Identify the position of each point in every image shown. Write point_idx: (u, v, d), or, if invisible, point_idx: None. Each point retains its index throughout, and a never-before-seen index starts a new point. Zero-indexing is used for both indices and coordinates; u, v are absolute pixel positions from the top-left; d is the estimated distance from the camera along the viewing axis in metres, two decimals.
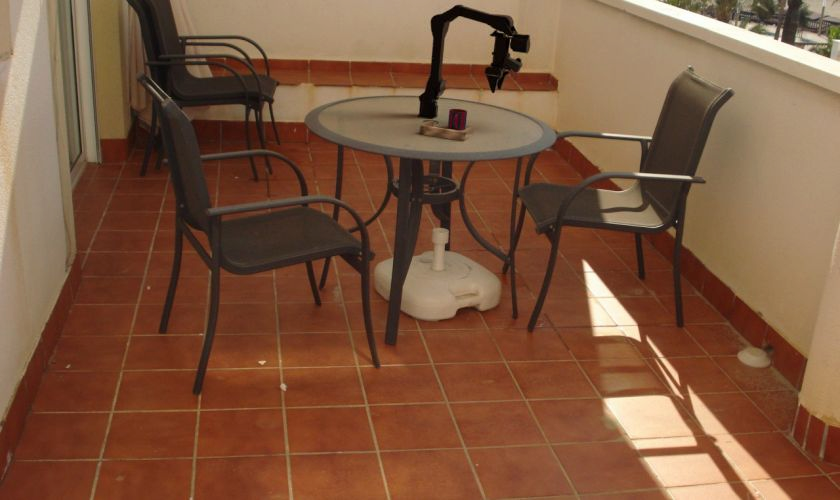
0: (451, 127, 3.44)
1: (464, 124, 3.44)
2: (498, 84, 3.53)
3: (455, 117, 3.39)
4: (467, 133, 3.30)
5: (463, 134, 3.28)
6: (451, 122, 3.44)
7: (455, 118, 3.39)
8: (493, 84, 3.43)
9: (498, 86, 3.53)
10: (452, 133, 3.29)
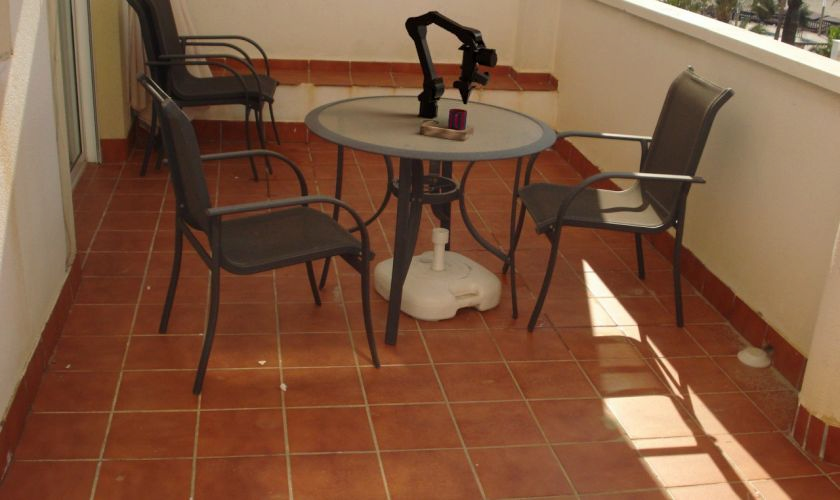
0: (451, 127, 3.44)
1: (464, 124, 3.44)
2: None
3: (455, 117, 3.39)
4: (467, 133, 3.30)
5: (463, 134, 3.28)
6: (451, 122, 3.44)
7: (455, 118, 3.39)
8: (465, 96, 3.50)
9: None
10: (452, 133, 3.29)
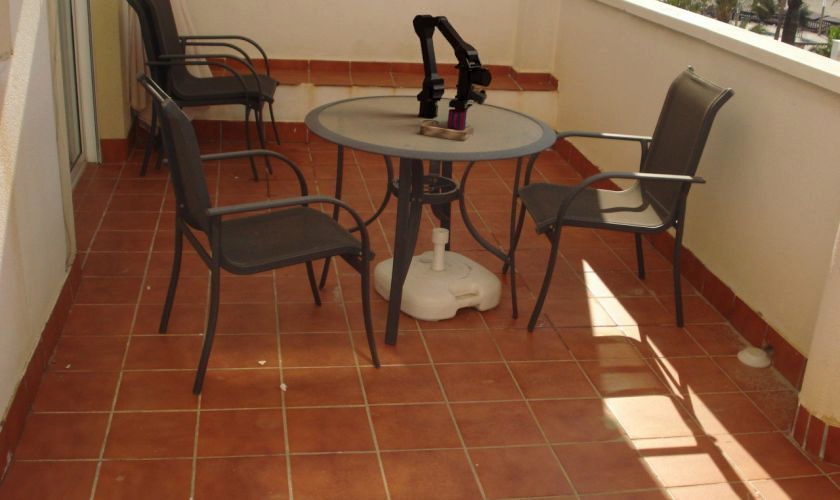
0: (450, 127, 3.43)
1: (463, 124, 3.44)
2: None
3: (454, 117, 3.38)
4: (467, 133, 3.30)
5: (463, 134, 3.28)
6: (450, 122, 3.43)
7: (455, 118, 3.38)
8: None
9: None
10: (452, 133, 3.29)
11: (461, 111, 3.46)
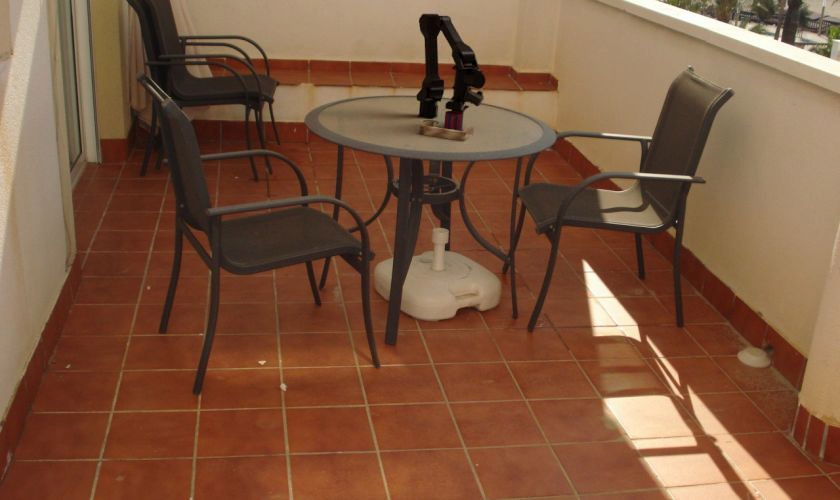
0: None
1: (460, 126, 3.40)
2: None
3: (451, 120, 3.34)
4: (467, 133, 3.30)
5: (463, 134, 3.28)
6: (447, 124, 3.39)
7: (451, 121, 3.34)
8: None
9: None
10: (452, 133, 3.29)
11: (458, 113, 3.42)
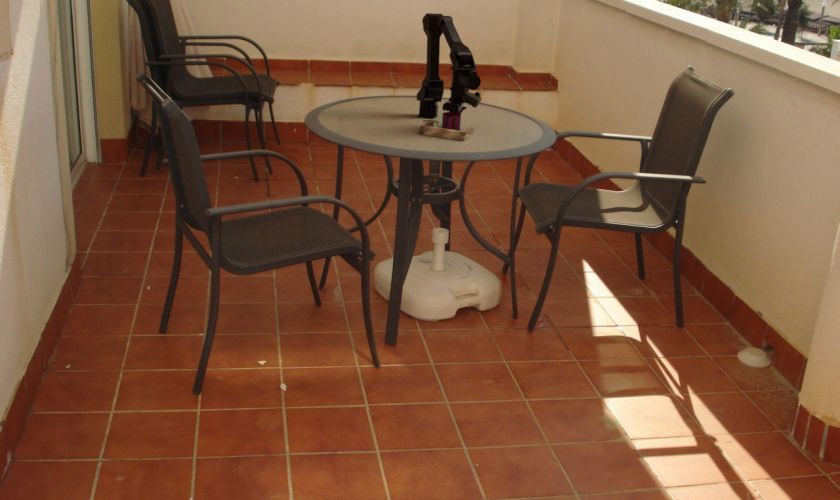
0: None
1: (458, 128, 3.37)
2: None
3: (449, 121, 3.31)
4: (467, 133, 3.30)
5: (463, 134, 3.28)
6: (445, 126, 3.36)
7: (449, 122, 3.31)
8: None
9: None
10: (452, 133, 3.29)
11: (455, 114, 3.39)
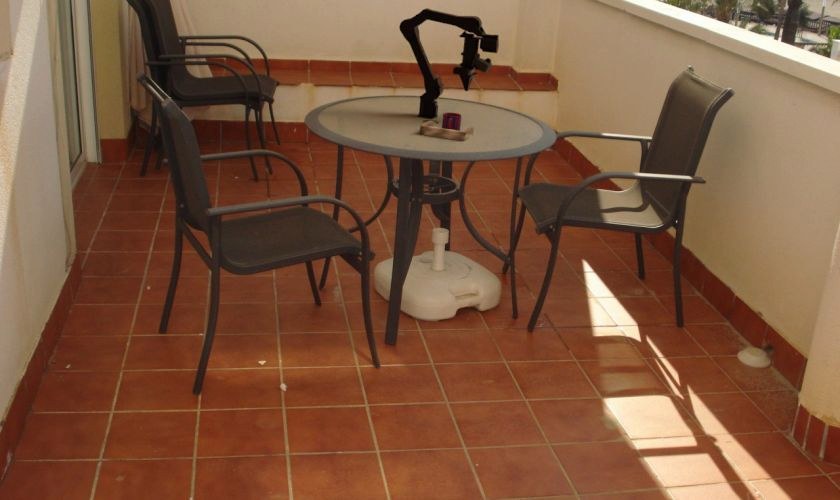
0: None
1: (458, 128, 3.37)
2: None
3: (449, 121, 3.32)
4: (467, 133, 3.30)
5: (463, 134, 3.28)
6: (445, 126, 3.36)
7: (449, 122, 3.31)
8: (466, 82, 3.53)
9: None
10: (452, 133, 3.29)
11: (456, 115, 3.40)
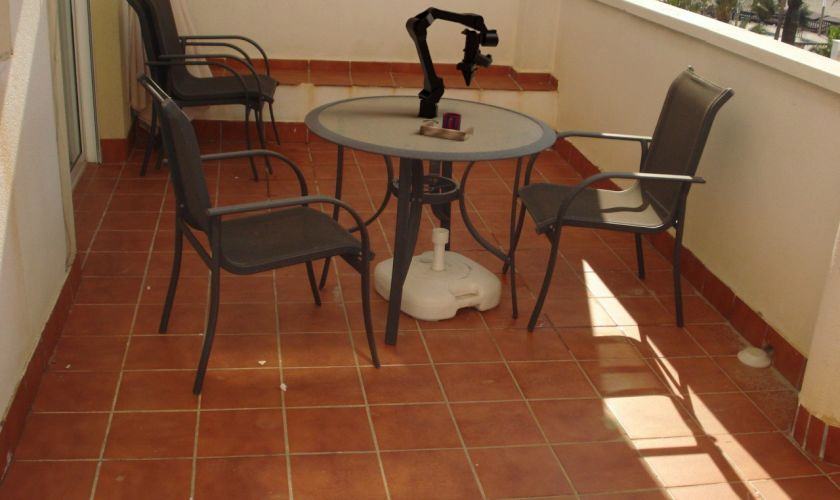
0: None
1: (458, 128, 3.37)
2: None
3: (449, 121, 3.32)
4: (467, 133, 3.30)
5: (463, 134, 3.28)
6: (445, 126, 3.36)
7: (449, 122, 3.31)
8: (468, 78, 3.63)
9: None
10: (452, 133, 3.29)
11: (456, 115, 3.40)
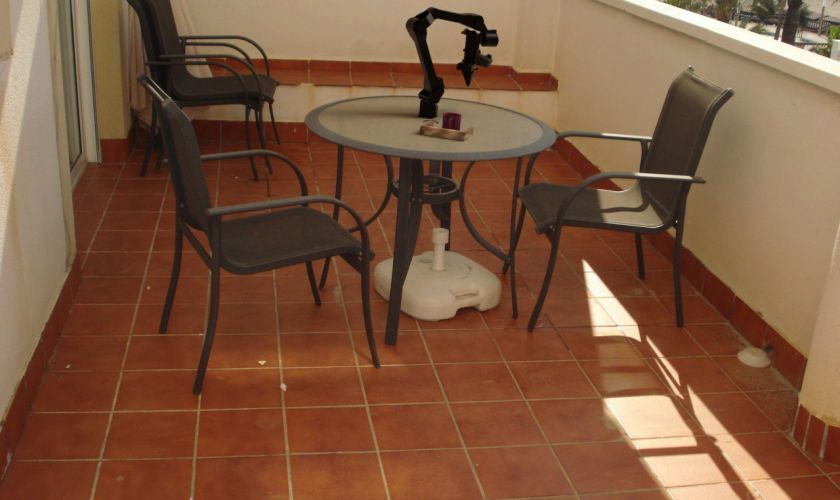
0: None
1: (458, 128, 3.37)
2: None
3: (449, 121, 3.32)
4: (467, 133, 3.30)
5: (463, 134, 3.28)
6: (445, 126, 3.36)
7: (449, 122, 3.31)
8: (468, 78, 3.63)
9: None
10: (452, 133, 3.29)
11: (456, 115, 3.40)
